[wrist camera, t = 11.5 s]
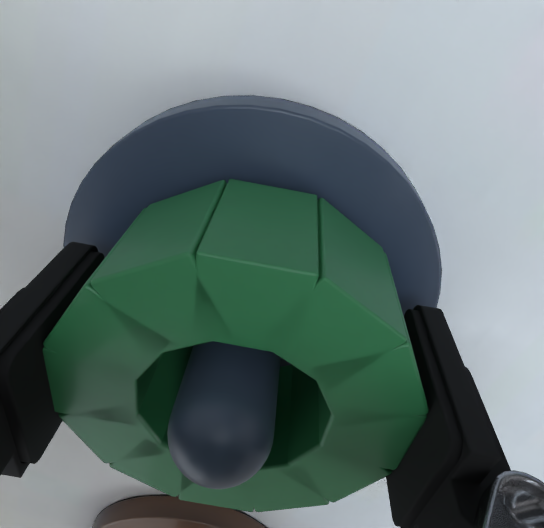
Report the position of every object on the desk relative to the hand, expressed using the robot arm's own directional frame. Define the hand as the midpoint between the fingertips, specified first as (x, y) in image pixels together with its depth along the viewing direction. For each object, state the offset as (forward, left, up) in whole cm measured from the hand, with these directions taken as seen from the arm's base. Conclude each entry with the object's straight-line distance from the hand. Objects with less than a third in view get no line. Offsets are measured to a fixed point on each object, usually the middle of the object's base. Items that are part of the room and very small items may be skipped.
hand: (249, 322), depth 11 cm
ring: (0, 0, 0) cm, 0 cm away
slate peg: (0, 0, -2) cm, 2 cm away
